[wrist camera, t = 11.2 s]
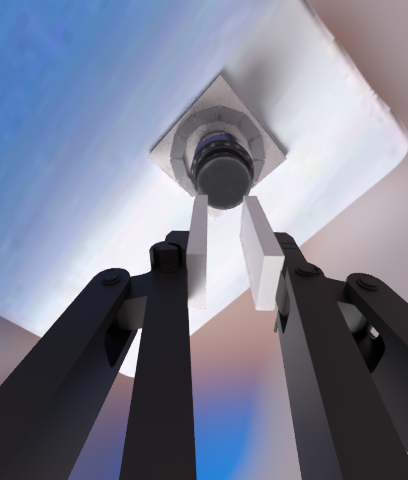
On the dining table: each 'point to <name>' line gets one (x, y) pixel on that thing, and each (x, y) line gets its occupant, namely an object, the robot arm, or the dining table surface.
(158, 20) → the dining table surface
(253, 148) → the hub plate
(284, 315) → the robot arm
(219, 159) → the pill bottle
